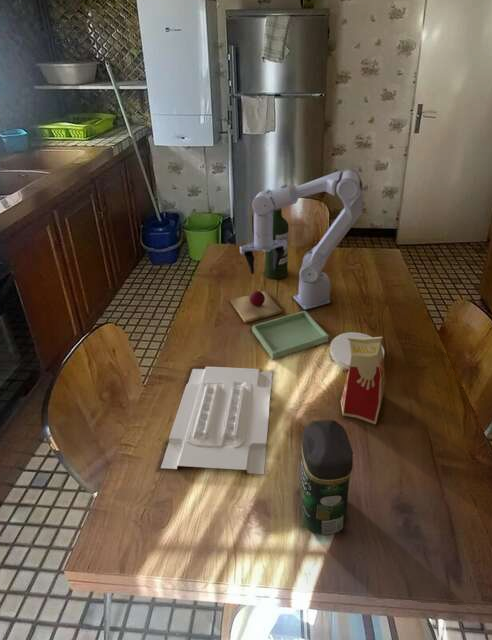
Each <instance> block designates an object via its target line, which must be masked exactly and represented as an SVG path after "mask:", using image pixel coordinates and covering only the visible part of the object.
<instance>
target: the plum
mask: <svg viewBox="0 0 492 640" xmlns="http://www.w3.org/2000/svg"><path fill="white" fill-rule="evenodd" d="M261 292H262V291H258V290H256V291H253V292H252V293H251V294H250V295H251V296H250V302H251V304H252V305H254V306H261V305H262V304H263V303H264V301H265V297H264V295H263V293H261Z"/></svg>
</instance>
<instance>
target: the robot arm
mask: <svg viewBox="0 0 492 640" xmlns="http://www.w3.org/2000/svg"><path fill="white" fill-rule="evenodd" d="M363 189H364V188H363V181H362V178H361V175H360V174H359V172H358V171H356V170H355V169H352V168H346V169H343V170H339V171H335V172H332V173H329V174H327V175H324V176H321V177H319V178H316V179H314V180H311V181H308V182H305V183H303V184H299V185H297V186H296V185H293V184H286V183H282V184H281V185H280V186H279V187H277V188H273V189H271V190H270V188H269V189H266V190H262V191H259V192H258V193H257V194H256V195H255V197H254V198H253V200H252V202H251V209H252V211H253V242H250V243H247V244H245V245H240V246H239V253H240V255H242V256H244V257H245V260H246V262H247V264H248V268H249V272H250V274H251V275H254V274H255V267H254V266H255V264H254V263H255V256H254V252H263V253H265V252H270V250H271V249H272V251H273V268H274V270H277V268H278V264H279V262H280V259H281V258H282V256H283V255H284V249H283V248H287V242H286V241H285V240H273V209H279V208H281V209H283V208H285V207H288V206H291V205H296V204H297V203H298V201H299V200H300V199H301V198H304V197H309V196H312V195H316V194H320V193H324V192H326V193H328V194H329V195H332V196H334V197H335V196H336V194H337V196H338V198H339V199H340V201H342V204H343V209H342V210H341V211H340V213H339V214H338V215H337V217H336V218H335V220H334V221H333V222H332V223H331V225H330V226H329V228H328V229H327V230H326V232H325V234H324V235H323V236H322V238H321V239H320V240H319V242H318V243H317V244H316V245H315V246H314V247H312V249H311V250H309V251H308V252H306V253H304V255H303V257H302V263H301V267H300V268H299V271H298V272H299V273H298V275H299V276H298V294H295V295H293V296H292V299H294V300H295V301H296V302H297V304H298V305H299V306H300V307H301V308H302V309H303V311H306V310H311V309H314V308H317V307H321V306H324V305H327V304H330V303H331V300H330V293H331V281H330V278H329V276H328V274H327V273H325V272H322V270H323V269H324V267H325V266H326V263H327V261H328V259H329V258H330V256H331V255H332V253H333V252H334V251H335V250H336V248H337V247H338V245H339V244H340V243H341V242H342V240H343V239H344V237H345V236H346V235H347V234H348V232H349V231H350V230H351V228H352V227H353V226H354V224H355V223H356V222H357V220H358V219H359V217H360V216H361V215H362V213H363V211H364V210H363V207H364V206H363V204H364V202H363V194H364V193H363Z"/></svg>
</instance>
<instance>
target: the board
mask: <svg viewBox="0 0 492 640" xmlns="http://www.w3.org/2000/svg"><path fill="white" fill-rule="evenodd" d="M260 292H261V293H263V295H264V297H265V301H264V303H263V304H262V305H261V306H254V305H252V304H251V302H250V296H251V294H248V295H244V296H239V297H235V298H232V299H230V304H231V305H232V307H233V308H234V309H235V311H236V312H237V314H238V315H239V316H240V318H241V319H242V321H243V322H244V323H245V324H248V323H251V322H254V321H257V320H261V319H265V318H269V317H273V316H275V315H279V314H282V311H283V310H282V309H281V308H280V306H279V305H278V304H277V303H276V302H275V301H274V299H273V298H272V297H271V296H270V295H269V294H268V293H267V292H266V291H265V290H264V291H260Z"/></svg>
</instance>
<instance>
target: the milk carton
mask: <svg viewBox="0 0 492 640" xmlns="http://www.w3.org/2000/svg"><path fill="white" fill-rule="evenodd" d="M347 339H348V340H350V348H351V362H350V366H349V370H347V374H346V379H345V383H344V386H343V390H342V394H341V398H340V406H341V412H342V416H344V417H349V418H350V417H351V418H356V419H359V420H362V421H365V422H367V423H370V424H373V425H376V424H377V421H378V417H379V414H380V410H381V406H382V401H383V395H384V389H385V382H386V381H385V380H386V379H385V357H384V358H383V352H382V347H383V345H382V339H383V336H374V337H373V336H372V338H347Z"/></svg>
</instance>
